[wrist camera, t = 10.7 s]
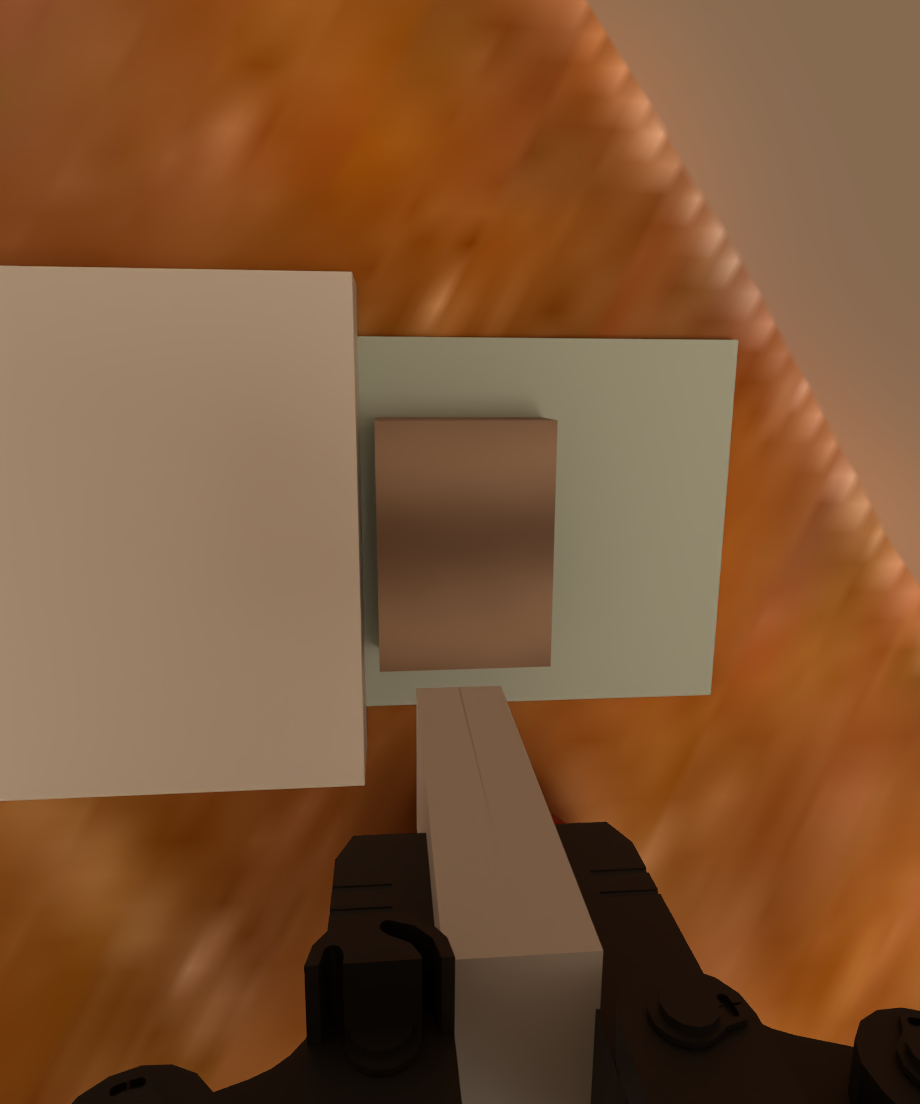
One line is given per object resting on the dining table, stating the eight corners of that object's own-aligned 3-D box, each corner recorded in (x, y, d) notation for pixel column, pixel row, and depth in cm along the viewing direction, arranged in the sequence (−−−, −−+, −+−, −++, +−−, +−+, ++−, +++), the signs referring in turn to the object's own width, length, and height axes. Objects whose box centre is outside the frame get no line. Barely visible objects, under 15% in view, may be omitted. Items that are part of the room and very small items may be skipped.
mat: (705, 689, 36) (710, 694, 36) (366, 700, 35) (366, 705, 34) (732, 340, 33) (738, 340, 32) (357, 337, 31) (357, 336, 31)
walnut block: (536, 642, 34) (550, 666, 31) (380, 647, 34) (379, 671, 31) (542, 417, 32) (557, 420, 29) (375, 417, 32) (374, 420, 29)
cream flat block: (367, 741, 35) (364, 785, 31) (-44, 756, 34) (-101, 805, 30) (356, 286, 31) (351, 271, 27) (-115, 278, 29) (-192, 262, 26)
